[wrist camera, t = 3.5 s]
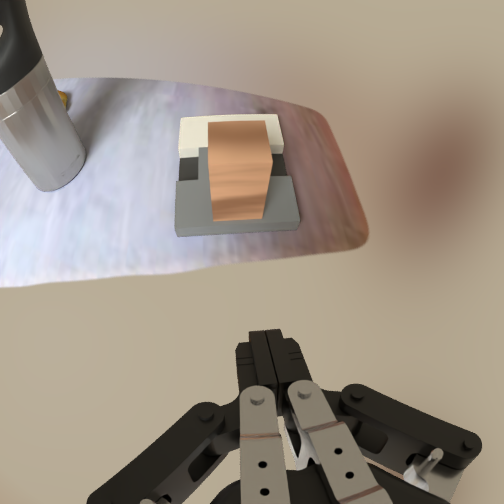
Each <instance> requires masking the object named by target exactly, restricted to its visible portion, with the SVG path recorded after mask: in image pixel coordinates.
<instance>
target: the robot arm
mask: <svg viewBox="0 0 504 504" xmlns="http://www.w3.org/2000/svg"><path fill="white" fill-rule="evenodd" d="M0 25H1V26H2V27H3V32H2V35H1V37H0V139H1V140H2V142H3V143H4V145H5V146H6V148H7V149H8V150H9V152H10V153H11V155H12V156H13V157H14V159H15V160H16V161H17V163H18V164H19V165H20V167H21V168H22V169H23V171H24V172H25V173H26V175H27V176H28V177H29V179H30V180H31V181H32V182H33V184H34V185H35V186H36V187H37V188H38V189H39V190H41V191H44V192H49V191H54V190H56V189H59V188H61V187H62V186H64V185H66V184H67V183H68V182H70V181H71V180H72V179H73V178H74V177H75V176H76V175H77V173H78V172H79V171H80V169H81V168H82V166H83V164H84V161H85V157H86V152H85V148H84V146H83V144H82V142H81V140H80V138H79V136H78V134H77V132H76V130H75V128H74V126H73V123H72V121H71V119H70V117H69V115H68V113H67V111H66V108H65V106H64V104H63V102H62V100H61V97H60V95H59V93H58V90H57V88H56V86H55V83H54V81H53V79H52V77H51V74H50V72H49V70H48V67H47V65H46V62H45V59H44V56H43V54H42V51H41V49H40V46H39V44H38V41H37V39H36V36H35V33H34V31H33V28H32V25H31V22H30V19H29V15H28V11H27V7H26V3H25V0H0ZM235 351H236V366H237V377H238V386H239V395H238V397H237V398H236V399H235V400H234V401H233V402H231V403H229V404H226V405H223V406H219V405H217V404H215V403H212V402H202V403H198V404H196V405H194V406H193V407H192V408H191V409H190V410H189V411H188V412H187V413H186V414H184V415H183V416H182V418H180V419H179V420H178V421H177V422H176V423H175V424H174V425H172V426H171V427H170V428H169V429H168V430H167V431H166V432H165V433H164V434H162V435H161V436H160V437H159V438H158V439H157V440H156V441H155V442H153V443H152V444H151V445H150V446H149V447H148V448H147V449H145V450H144V451H143V452H142V453H141V454H140V455H138V456H137V458H135V459H134V460H133V461H131V462H130V463H129V464H128V465H127V466H125V467H124V468H123V469H122V470H121V471H119V472H118V473H117V474H116V475H114V476H113V477H112V478H111V479H109V480H108V481H107V482H106V483H104V484H103V485H102V486H101V487H99V488H98V489H97V490H96V491H94V492H93V493H92V494H91V495H90V496H89V497H88V499H87V504H182V503H183V502H184V501H185V500H186V499H187V498H188V497H189V496H190V495H191V494H192V493H193V492H194V491H195V490H196V489H197V488H198V487H199V486H200V484H201V483H202V482H203V481H204V480H205V479H206V478H207V477H208V476H209V475H210V474H211V473H212V472H213V470H214V469H215V468H216V467H217V466H218V465H219V464H220V463H221V462H222V460H223V459H224V458H225V457H226V456H227V455H228V453H229V452H230V451H233V450H235V449H238V448H240V476H241V477H240V480H238V481H235V482H233V483H231V484H230V485H228V486H227V487H225V488H224V489H223V490H222V491H220V492H219V494H218V495H217V496H216V497H215V498H214V499H213V501H212V502H211V503H210V504H450V503H449V502H450V500H451V498H452V496H453V494H454V492H455V489H456V487H457V485H458V483H459V481H460V478H461V476H462V473H463V471H464V469H465V468H466V467H467V466H468V465H469V464H470V463H471V462H472V461H473V460H474V459H475V458H476V457H477V456H478V455H479V453H480V452H481V449H482V442H481V439H480V438H479V436H477V434H475V433H473V432H470V431H468V430H465V429H463V428H460V427H458V426H455V425H452V424H450V423H447V422H445V421H443V420H440V419H438V418H435V417H433V416H431V415H428V414H426V413H423V412H421V411H419V410H417V409H414V408H412V407H409V406H408V405H405V404H403V403H401V402H399V401H397V400H394V399H392V398H390V397H388V396H386V395H383V394H381V393H379V392H377V391H375V390H373V389H371V388H368V387H367V386H364V385H362V384H350V385H348V386H346V387H345V388H344V389H343V390H342V392H338V391H327V390H324V389H321V388H320V387H319V386H318V385H317V384H316V383H314V382H313V381H312V378H311V375H310V373H309V370H308V367H307V365H306V362H305V360H304V357H303V354H302V353H301V349H300V347H299V344H298V343H297V342H296V341H295V340H294V339H293V338H286V339H284V338H283V336H282V332H281V330H280V329H272V330H265V332H264V330H262V331H250V332H249V342H243V343H239V344H238V346H237V348H236V350H235ZM278 416H283V418H284V421H285V423H284V431H285V434H286V437H287V440H288V442H289V445H290V448H291V451H292V454H293V457H294V460H295V463H296V470H286V467H285V459H284V452H283V444H282V437H281V435H280V434H279V428H278V420H277V417H278ZM363 456H365V457H367V458H369V459H371V460H373V461H375V462H377V463H379V464H381V465H383V466H385V467H387V468H390V469H392V470H394V471H396V472H398V473H400V474H402V475H404V480H405V481H404V480H402V479H400V478H398V477H396V476H394V475H392V474H390V473H388V472H386V471H384V470H383V469H380V468H379V467H377V466H375V465H373V464H370V463H367V462H366V461H365V459H364V457H363Z"/></svg>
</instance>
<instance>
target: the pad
mask: <svg viewBox="0 0 504 504" xmlns="http://www.w3.org/2000/svg"><path fill="white" fill-rule="evenodd" d="M257 120H265V123H266V129H267V134H268V139H269V144H270V149H271V154H282V152H283V148H284V142H283V138H282V133H281V129H280V125H279V121H278V117H277V114H240V115H214V116H198V117H186V118H181V123H180V134H179V147H178V150H179V155H180V158H188V157H199V147H208V122H221V121H257Z"/></svg>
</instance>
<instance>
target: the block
mask: <svg viewBox="0 0 504 504" xmlns="http://www.w3.org/2000/svg"><path fill="white" fill-rule="evenodd" d="M272 164H273V160H272V155H271V149H270V144H269V139H268V134H267V129H266V123H265V120H257V121H221V122H208V169H209V180H210V192H211V203H212V213H213V221H230V220H248V219H262V216H263V211H264V206H265V201H266V195H267V190H268V185H269V180H270V174H271V169H272Z"/></svg>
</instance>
